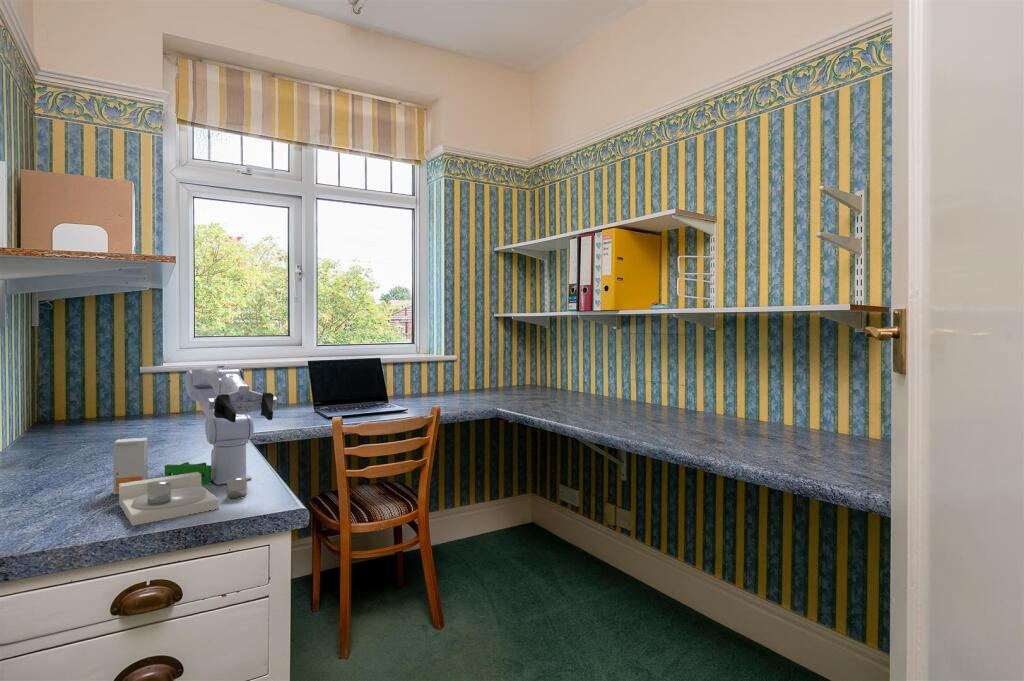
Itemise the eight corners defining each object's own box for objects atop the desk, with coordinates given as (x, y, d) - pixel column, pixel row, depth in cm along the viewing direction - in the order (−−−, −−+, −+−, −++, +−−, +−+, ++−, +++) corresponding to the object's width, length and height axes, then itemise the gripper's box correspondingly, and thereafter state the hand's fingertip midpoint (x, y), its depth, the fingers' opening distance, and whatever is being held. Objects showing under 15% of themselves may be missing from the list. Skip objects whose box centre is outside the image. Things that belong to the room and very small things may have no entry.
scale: (119, 504, 118) (118, 483, 118) (198, 491, 128) (197, 471, 128) (132, 525, 106) (132, 502, 106) (218, 509, 116) (218, 487, 116)
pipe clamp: (217, 481, 138) (217, 462, 138) (208, 485, 134) (208, 466, 134) (174, 479, 139) (175, 461, 139) (164, 483, 135) (164, 465, 135)
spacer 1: (145, 502, 112) (145, 482, 112) (168, 498, 114) (168, 478, 114) (149, 507, 109) (149, 486, 109) (173, 502, 112) (172, 482, 111)
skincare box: (112, 495, 125) (112, 442, 125) (117, 490, 129) (117, 438, 129) (144, 492, 127) (144, 440, 127) (148, 487, 131) (148, 437, 131)
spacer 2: (224, 496, 125) (224, 478, 125) (243, 492, 128) (243, 475, 127) (229, 500, 122) (229, 482, 122) (249, 496, 125) (249, 479, 125)
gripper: (205, 378, 127) (218, 401, 117) (271, 378, 137) (288, 398, 127) (201, 407, 129) (215, 432, 119) (267, 404, 138) (284, 427, 128)
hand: (252, 416), depth 123 cm, fingers open, 7 cm apart
